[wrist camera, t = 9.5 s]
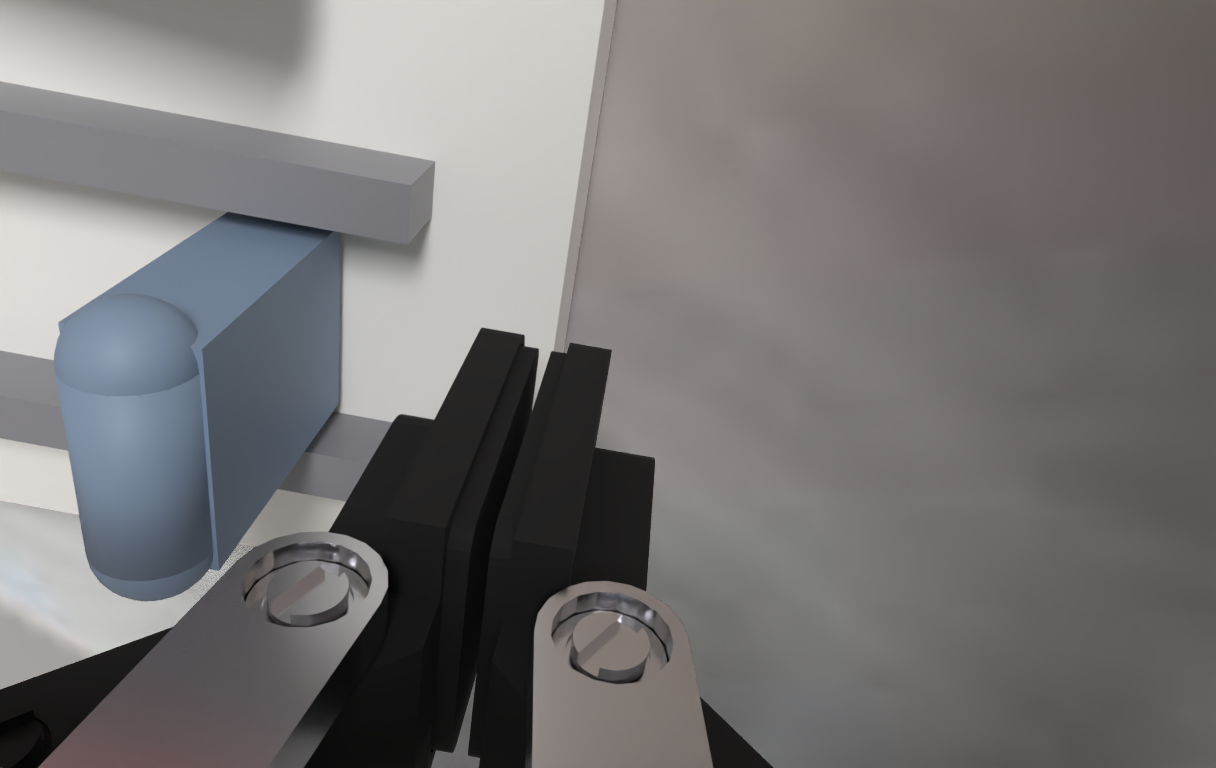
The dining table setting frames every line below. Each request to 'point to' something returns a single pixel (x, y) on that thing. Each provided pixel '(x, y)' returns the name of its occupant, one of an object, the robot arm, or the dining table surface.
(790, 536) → the dining table surface
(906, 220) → the dining table surface
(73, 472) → the paddle
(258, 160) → the panel
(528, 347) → the robot arm
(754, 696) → the dining table surface
